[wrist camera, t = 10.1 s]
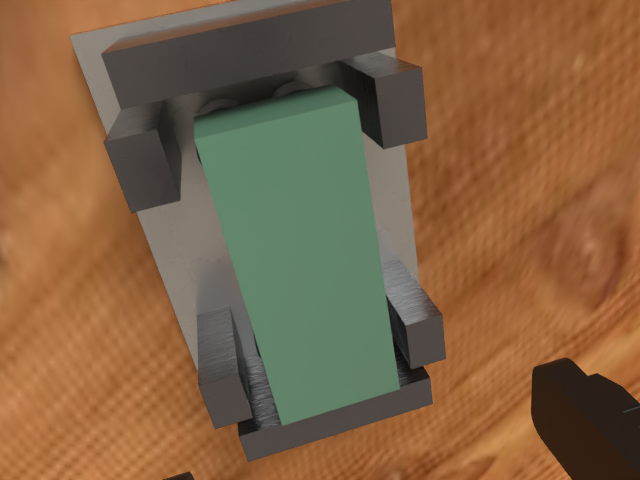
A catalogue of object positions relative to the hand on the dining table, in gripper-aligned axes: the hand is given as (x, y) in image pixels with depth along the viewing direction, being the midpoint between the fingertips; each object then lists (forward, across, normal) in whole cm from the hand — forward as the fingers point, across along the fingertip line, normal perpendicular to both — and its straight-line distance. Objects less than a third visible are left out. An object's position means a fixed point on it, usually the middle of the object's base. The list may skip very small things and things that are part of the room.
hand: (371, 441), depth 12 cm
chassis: (+14, 0, 0) cm, 14 cm away
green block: (+10, 0, 0) cm, 10 cm away
